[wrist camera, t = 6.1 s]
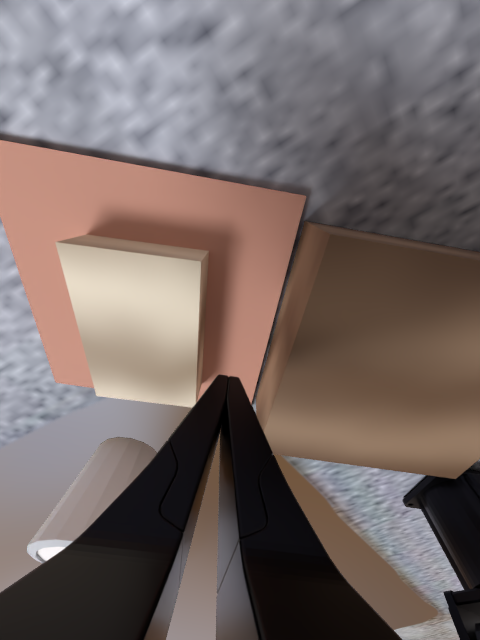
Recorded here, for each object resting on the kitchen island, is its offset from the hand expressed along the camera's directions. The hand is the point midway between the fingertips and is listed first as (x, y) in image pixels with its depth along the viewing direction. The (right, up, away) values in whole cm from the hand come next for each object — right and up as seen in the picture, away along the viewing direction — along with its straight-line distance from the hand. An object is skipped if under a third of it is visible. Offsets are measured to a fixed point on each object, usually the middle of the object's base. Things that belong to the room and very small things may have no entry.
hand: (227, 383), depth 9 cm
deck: (+9, +1, +5) cm, 10 cm away
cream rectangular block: (-5, +1, +3) cm, 5 cm away
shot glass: (-10, -10, +12) cm, 19 cm away
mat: (-5, +3, +4) cm, 7 cm away
